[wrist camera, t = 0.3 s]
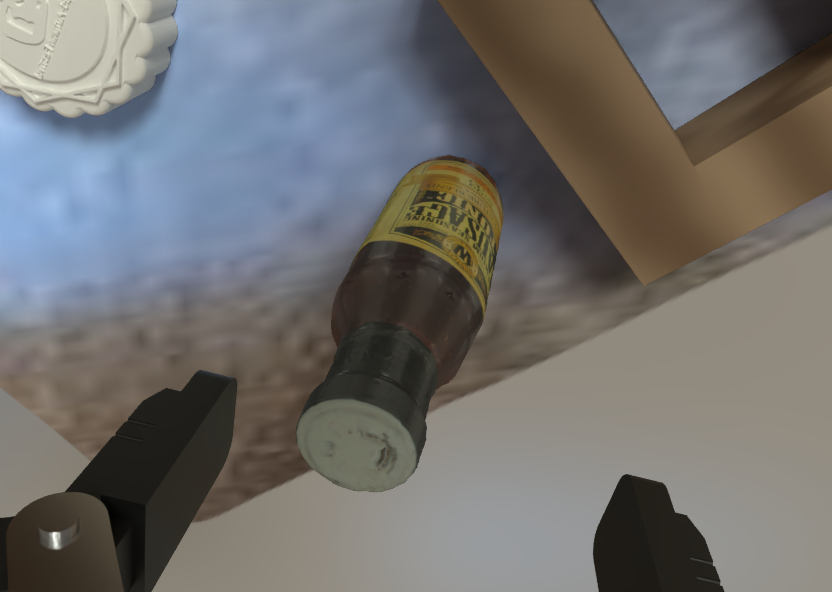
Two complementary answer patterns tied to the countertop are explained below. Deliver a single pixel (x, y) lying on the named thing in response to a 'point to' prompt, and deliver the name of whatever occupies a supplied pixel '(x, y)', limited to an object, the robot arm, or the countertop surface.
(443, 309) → the sauce bottle
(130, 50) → the cream scalloped thick disc
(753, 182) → the square wooden frame
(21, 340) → the countertop surface
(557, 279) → the countertop surface
